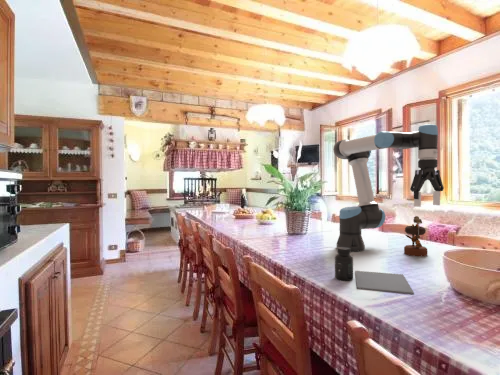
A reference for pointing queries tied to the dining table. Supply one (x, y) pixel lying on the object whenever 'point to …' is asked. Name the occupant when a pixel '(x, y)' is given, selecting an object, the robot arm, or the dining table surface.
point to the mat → (382, 282)
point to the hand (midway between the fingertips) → (427, 205)
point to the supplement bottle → (343, 264)
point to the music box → (415, 239)
